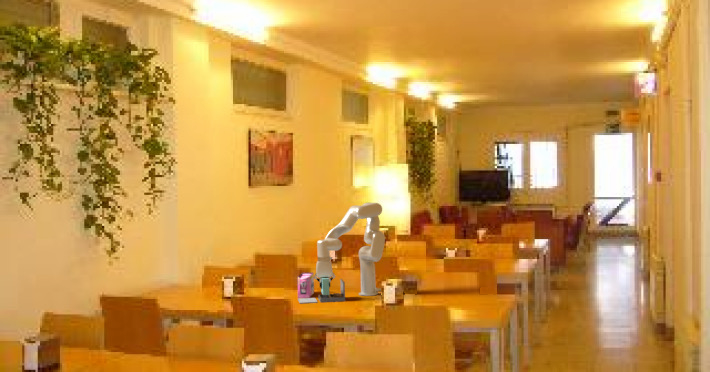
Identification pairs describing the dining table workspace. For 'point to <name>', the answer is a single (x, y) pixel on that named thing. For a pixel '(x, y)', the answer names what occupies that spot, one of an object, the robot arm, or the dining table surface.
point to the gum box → (305, 285)
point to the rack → (330, 297)
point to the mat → (307, 300)
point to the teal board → (325, 286)
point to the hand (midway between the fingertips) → (325, 288)
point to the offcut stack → (337, 295)
